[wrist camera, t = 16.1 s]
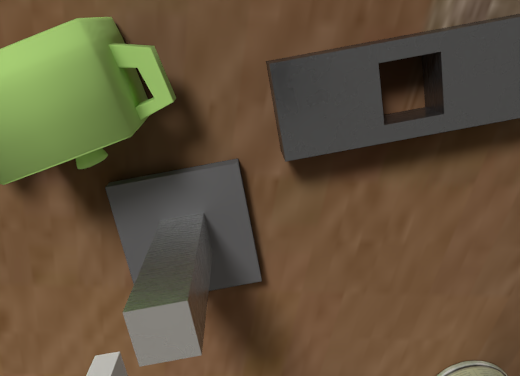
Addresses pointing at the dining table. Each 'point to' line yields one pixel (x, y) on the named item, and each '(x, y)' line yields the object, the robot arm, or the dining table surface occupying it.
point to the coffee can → (473, 369)
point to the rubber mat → (189, 203)
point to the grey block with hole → (369, 89)
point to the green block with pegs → (74, 95)
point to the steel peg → (171, 292)
